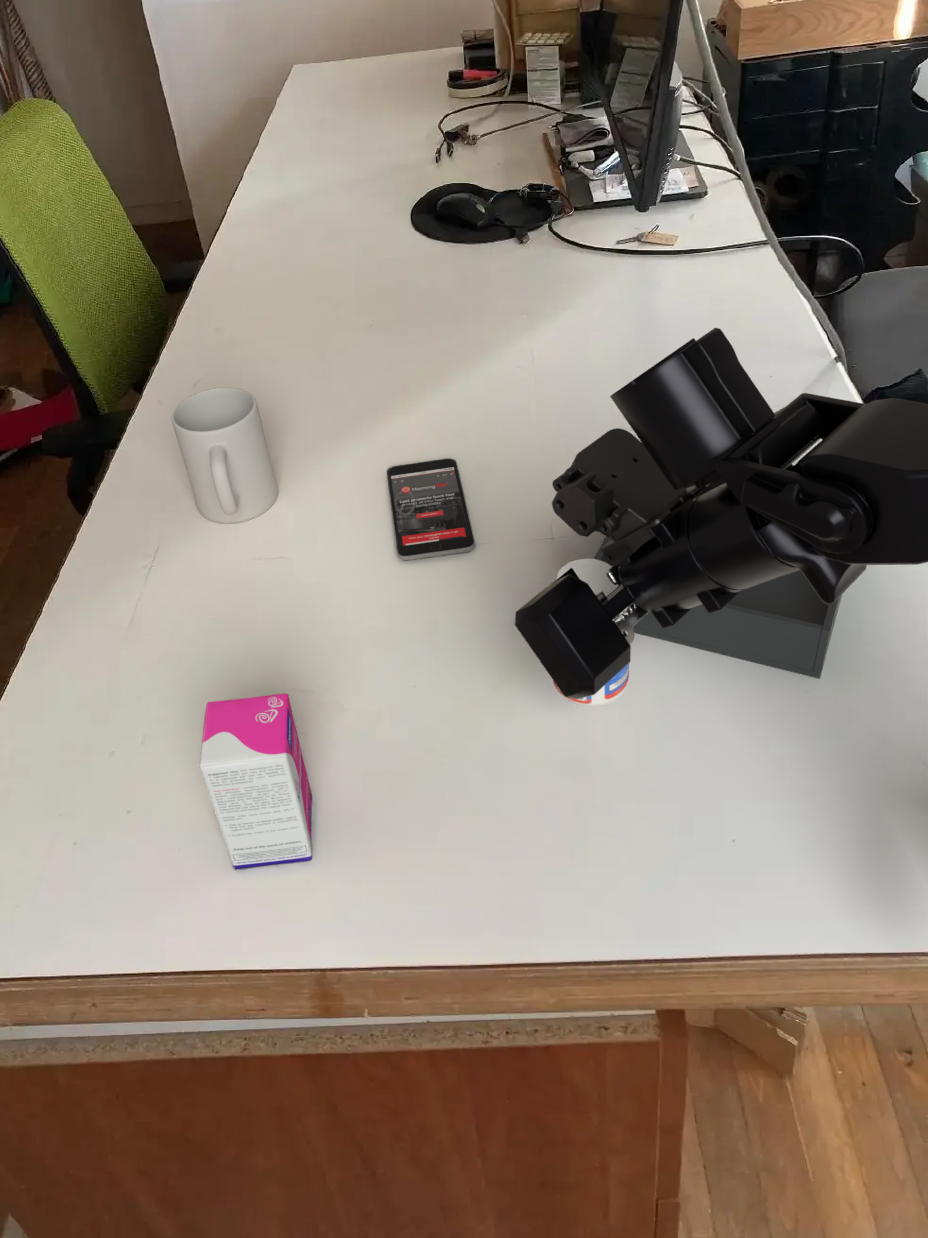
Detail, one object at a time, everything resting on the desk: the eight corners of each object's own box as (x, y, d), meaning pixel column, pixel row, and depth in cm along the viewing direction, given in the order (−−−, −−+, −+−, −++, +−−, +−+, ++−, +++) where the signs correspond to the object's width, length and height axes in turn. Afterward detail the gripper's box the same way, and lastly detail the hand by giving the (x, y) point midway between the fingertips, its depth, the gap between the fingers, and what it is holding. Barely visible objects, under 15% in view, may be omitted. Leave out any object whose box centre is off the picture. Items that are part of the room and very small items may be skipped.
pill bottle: (616, 648, 75) (618, 545, 69) (638, 701, 71) (641, 597, 64) (543, 660, 75) (538, 558, 69) (560, 714, 71) (557, 611, 64)
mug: (198, 482, 109) (172, 394, 102) (277, 469, 109) (256, 380, 102) (195, 552, 100) (166, 460, 93) (281, 537, 100) (259, 444, 93)
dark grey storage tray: (858, 532, 92) (868, 487, 89) (819, 679, 79) (829, 632, 76) (649, 492, 100) (651, 449, 96) (584, 620, 87) (584, 575, 84)
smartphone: (397, 557, 95) (386, 466, 106) (398, 563, 95) (386, 472, 107) (475, 546, 95) (455, 456, 106) (476, 552, 95) (455, 462, 107)
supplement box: (316, 861, 71) (286, 757, 64) (232, 872, 71) (192, 768, 64) (316, 794, 76) (288, 689, 68) (237, 804, 76) (200, 700, 69)
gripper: (739, 349, 60) (591, 444, 74) (533, 500, 51) (407, 577, 65) (845, 503, 60) (678, 570, 74) (659, 682, 51) (507, 721, 65)
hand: (573, 604), depth 69 cm, fingers closed on pill bottle, 5 cm apart
